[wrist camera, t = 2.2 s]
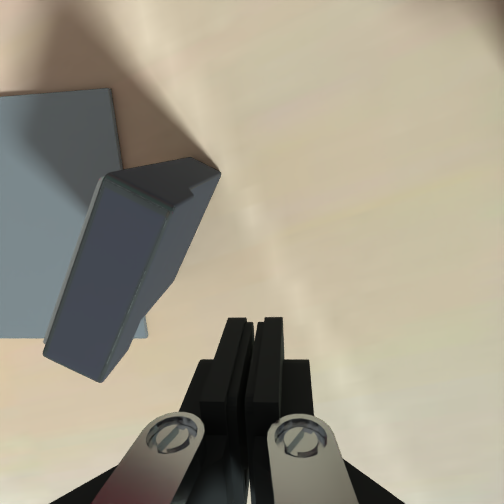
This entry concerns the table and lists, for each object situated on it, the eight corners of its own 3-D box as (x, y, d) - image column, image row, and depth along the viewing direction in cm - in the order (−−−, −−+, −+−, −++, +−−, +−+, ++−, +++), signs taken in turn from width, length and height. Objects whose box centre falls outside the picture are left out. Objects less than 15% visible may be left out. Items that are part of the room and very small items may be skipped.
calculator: (182, 151, 31) (88, 163, 17) (229, 175, 31) (175, 207, 17) (136, 263, 35) (26, 352, 20) (179, 284, 35) (99, 387, 20)
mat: (110, 88, 30) (107, 88, 30) (148, 335, 37) (146, 338, 36) (-69, 103, 32) (-74, 102, 32) (-4, 335, 38) (-8, 338, 38)
